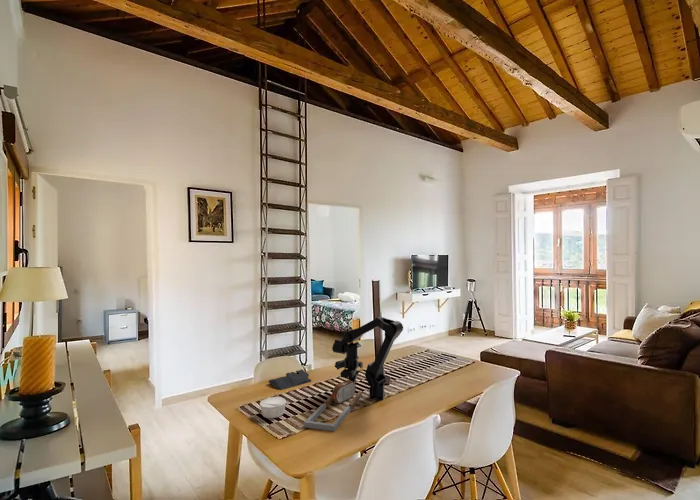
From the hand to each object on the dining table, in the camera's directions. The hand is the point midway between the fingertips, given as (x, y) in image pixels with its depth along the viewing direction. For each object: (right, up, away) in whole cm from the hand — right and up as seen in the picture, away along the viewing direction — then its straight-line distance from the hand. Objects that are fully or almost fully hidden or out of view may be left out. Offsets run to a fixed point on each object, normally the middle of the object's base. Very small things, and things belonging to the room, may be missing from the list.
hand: (352, 386), depth 189 cm
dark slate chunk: (-34, -4, +15) cm, 37 cm away
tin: (-4, -3, -11) cm, 12 cm away
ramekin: (-35, -3, -25) cm, 43 cm away
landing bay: (-10, -2, -30) cm, 32 cm away
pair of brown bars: (-4, -3, -12) cm, 13 cm away
